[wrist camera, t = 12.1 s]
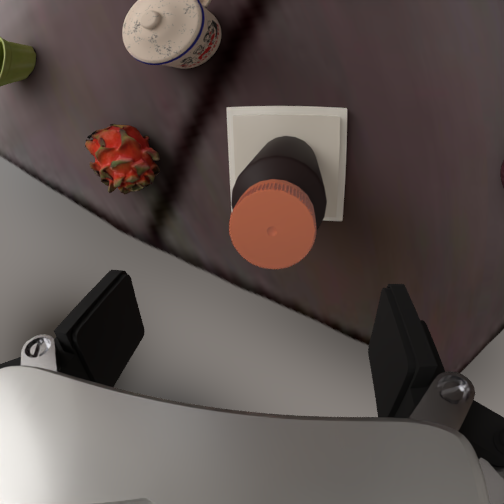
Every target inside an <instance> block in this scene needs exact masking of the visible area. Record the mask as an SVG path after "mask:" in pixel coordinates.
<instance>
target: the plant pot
mask: <svg viewBox="0 0 504 504" xmlns="http://www.w3.org/2000/svg"><path fill="white" fill-rule="evenodd" d="M35 62H36V53H35V52H34V50H33V48H32V47H31V46H27V45H22V44H17V43H13V42H8V41H6V40H4V39H2V38H1V37H0V86H3V85H6V84H9V83H13V82H16V81H20V80H24V79H26V78H27V77H28V75H29V74H30V73H31V72H32V71H33V69H34V66H35Z"/></svg>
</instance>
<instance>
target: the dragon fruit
mask: <svg viewBox="0 0 504 504" xmlns="http://www.w3.org/2000/svg"><path fill="white" fill-rule="evenodd" d="M110 126H111V127H108V128H105V129H101V130H96V131H95V132H93V133H92V134H91V135H89V136H88V137H87V138H89V139H90V138H91V137H92V138H93V140H86V144H85V146H86V148H87V149H88V150H89V151H90V153H91V154H92V155H93V156H94V157H95V159H96V160H95V163H91V162H90V167H91V169H93V170H94V172H95V174H97V175H98V176H99V177H101V182H102V183H104V184H105V185H107V186H109V188H108V192H109V193H111V192H112V191H114V190H115V189H116V188H117V187H118V189H119V190H120V191H121V193H124V194H127V193H129V192H131V191H137V190H138V191H139V190H140V189H143V187H144V186H148V185H149V184H150V180H151V184H152V183H153V181H154V178H155V176H156V175H157V174H158V173H159V172H160V170H159V167H158V165H157V164H156V163H155V162H153V160H155V161H158V160H159V159H160V157H159V155H158V152H157V151H155V150H153V149H152V148H150V147H149V143H148V140H149V137H148V136H143V137H142V136H141V134H140V132H139V131H138V130H137V129H136V128H135V127H132V126H129V125H127V126H125V125H116V124H111V125H110ZM149 179H150V180H149Z"/></svg>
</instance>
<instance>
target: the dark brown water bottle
mask: <svg viewBox="0 0 504 504" xmlns="http://www.w3.org/2000/svg"><path fill="white" fill-rule="evenodd" d="M231 205H232V209H233V212H232V213H231V216H230V218H231V219H230V220H229V222H230V223H229V225H230V226H229V229H230V230H229V232H230V235H231V238H230V239H232V241H231V242H233V245H234V246H235V248H236V249H237V251H238V252H239V254H241V257H242V256H243V257H244V259H247V261H249V262H250V263H253V265H254V264H255V265H256V266H260V267H263V268H267V269H268V268H270V270H271V269H274V270H275V269H278V268H281V269H282V268H285V267H288V268H289V266H292V265H293V264H294V265H295V263H298V262H299V261H301V259H302V258H303V259H304V256H306V254H309V251H311V248H312V245H314V241H315V238H316V231H317V229H318V228H319V226H320V224H321V222H322V220H323V219H324V217H325V211H326V205H327V199H326V193H325V187H324V184H323V180H322V176H321V173H320V169H319V165H318V162H317V158H316V155H315V154H314V152H313V150H312V148H311V147H310V146H309V145H308V144H307V143H306V142H305V141H303V140H301V139H299V138H297V137H292V136H282V137H276V138H275V139H273V140H271V141H269V142H268V143H267V144H266V145H265V146H264V147H263V148H262V149H261V150H260V152H259V153H258V154H257V155H256V156H255V157H254V158H253V160H252V161H251V162H250V163H249V164H248V165H247V166H246V168H245V169H244V170H243V171H242V172H241V173H240V175H239V176H238V177H237V180H236V182H235V185H234V187H233V189H232V201H231Z"/></svg>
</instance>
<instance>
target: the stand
mask: <svg viewBox="0 0 504 504" xmlns="http://www.w3.org/2000/svg"><path fill="white" fill-rule="evenodd" d="M227 129H228V151H229V171H230V191H231V201H232V189H233V187H234V185H235V182H236V180H237V177H238V176H239V175H240V173H241V172H242V171H243V170H244V169H245V168H246V166H247V165H248V164H249V163H250V162H251V161H252V160H253V158H254V157H255V156H256V155H257V154H258V153H259V152H260V150H261V149H262V148H263V147H264V146H265V145H266V144H267V143H268V142H269V141H271V140H273V139H275V138H276V137H282V136H292V137H297V138H299V139H301V140H303V141H305V142H306V143H307V144H308V145H309V146H310V147H311V148H312V150H313V152H314V154H315V155H316V158H317V162H318V165H319V169H320V173H321V176H322V180H323V184H324V187H325V193H326V199H327V205H326V211H325V217H324V219H323V220H325V221H342V220H343V206H344V191H345V172H346V147H347V108H334V107H311V106H248V107H227ZM231 209H232V205H231ZM232 212H233V209H232Z"/></svg>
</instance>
